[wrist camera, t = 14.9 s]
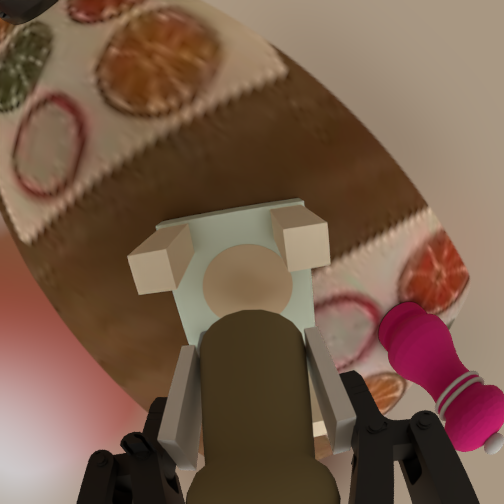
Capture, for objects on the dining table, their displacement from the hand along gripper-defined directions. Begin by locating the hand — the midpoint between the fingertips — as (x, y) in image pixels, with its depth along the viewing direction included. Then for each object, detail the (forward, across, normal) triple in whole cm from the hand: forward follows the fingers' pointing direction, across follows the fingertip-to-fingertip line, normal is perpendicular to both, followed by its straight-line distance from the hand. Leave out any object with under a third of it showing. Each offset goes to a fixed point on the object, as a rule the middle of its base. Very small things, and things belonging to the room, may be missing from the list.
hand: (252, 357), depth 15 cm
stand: (+11, 0, -3) cm, 12 cm away
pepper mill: (+11, +16, -9) cm, 22 cm away
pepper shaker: (0, 0, 0) cm, 0 cm away
